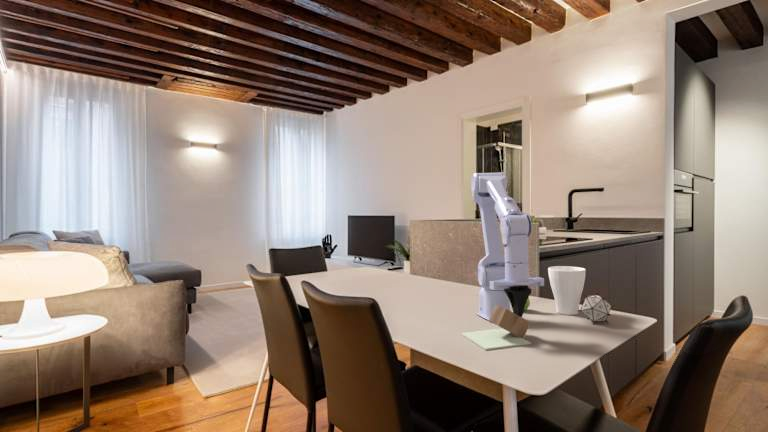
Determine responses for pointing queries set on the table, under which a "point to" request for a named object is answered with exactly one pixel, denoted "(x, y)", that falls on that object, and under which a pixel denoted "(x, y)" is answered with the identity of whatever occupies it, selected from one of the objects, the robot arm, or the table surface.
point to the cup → (567, 287)
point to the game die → (596, 308)
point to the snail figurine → (528, 298)
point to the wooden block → (509, 321)
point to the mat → (495, 339)
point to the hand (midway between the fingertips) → (518, 316)
